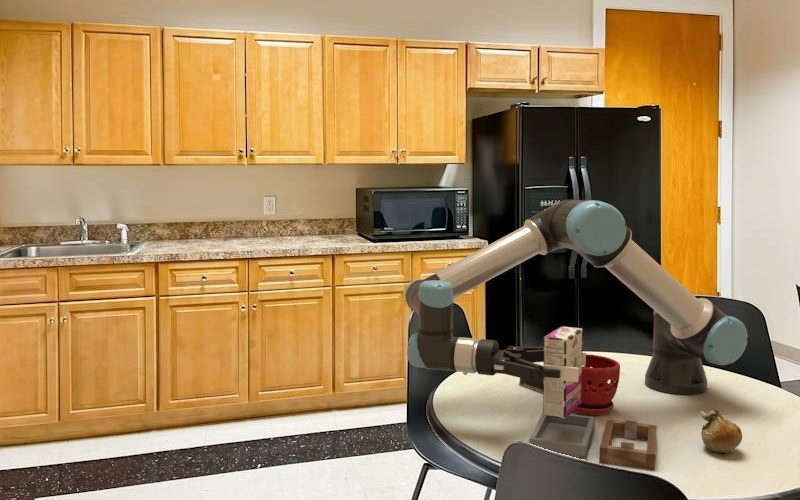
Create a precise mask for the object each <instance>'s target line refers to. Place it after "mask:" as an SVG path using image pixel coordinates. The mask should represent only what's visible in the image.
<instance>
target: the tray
mask: <svg viewBox="0 0 800 500" xmlns="http://www.w3.org/2000/svg"><path fill="white" fill-rule="evenodd" d="M539 417H540V418H539V419H538V422H537V423H536V425H535V426H534V429H533V430H532V432H531V434H530V436H529V438H528V444H529V443H531V444H533V445H536V446H539V447H542V448H544V449H548V450H551V451H554V452H557V453H561V454H565V455H569V456H572V457H576V458H579V459H585V460H586V461H587V457H588V454H589V451H590V448H591V445H592V441H593V438H594V434H595V431H596V428H595V427H596V416H591V415H582V414H574V413H573V414H572V413H571V414H570V415H569V416H568V417H567V418H566V419H562V418H556V417H550V416H546V415H543V413H542V414H541V416H539Z"/></svg>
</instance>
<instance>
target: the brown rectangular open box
mask: <svg viewBox="0 0 800 500" xmlns="http://www.w3.org/2000/svg"><path fill="white" fill-rule="evenodd" d="M657 427H658V426H657V425H655V424H651V423H650V424H649V423H648V424H647V423H642V422H641V423H640V422H638V420H634V419H633V420H632V419H631V420H630V419H625V420H615V419H608V418H607V419H606V422H605V425H604V428H603V432H602V436H601V441H600V444H599V457H598V460H599V463H601V464H602V463H605V464H609V465H617V466H625V467H631V468H637V469H645V470H650V471H651V470H652V471H655V466H656V454H657V453H656V449H657ZM614 437H615V438H624V439H627V440H634V441H635V440H636V441H637V440H639V441H641V440H642V441H647V443H646V444H647V445H646V449H640V448H639V449H637V448H635V442H628V441H620V446H615V445H612V443H613V440H614Z"/></svg>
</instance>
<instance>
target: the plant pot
mask: <svg viewBox="0 0 800 500" xmlns="http://www.w3.org/2000/svg"><path fill="white" fill-rule="evenodd" d="M620 373H621V364H620V362H618V361H617V360H616V359H613V358H611V357H607V356H603V355H602V356H601V355H596V354H590V353H589V354H588V353H586V365H585V366H582V395H581V402H582V403H581V404H580V405H579V406H578V407H577V408H576V409H575V410H574V411H573V412H574V413H577V414H579V415H584V416H597V415H598V416H600V415H605V414H608V413H610V412H611V411H612V410H613V408H614V406H615V405H614V402H613V401H612V400H613V399H614V397H615V395H616V393H617V390H618V387H619V382H620ZM609 380H610V382H609ZM608 382H609V383H608Z"/></svg>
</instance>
